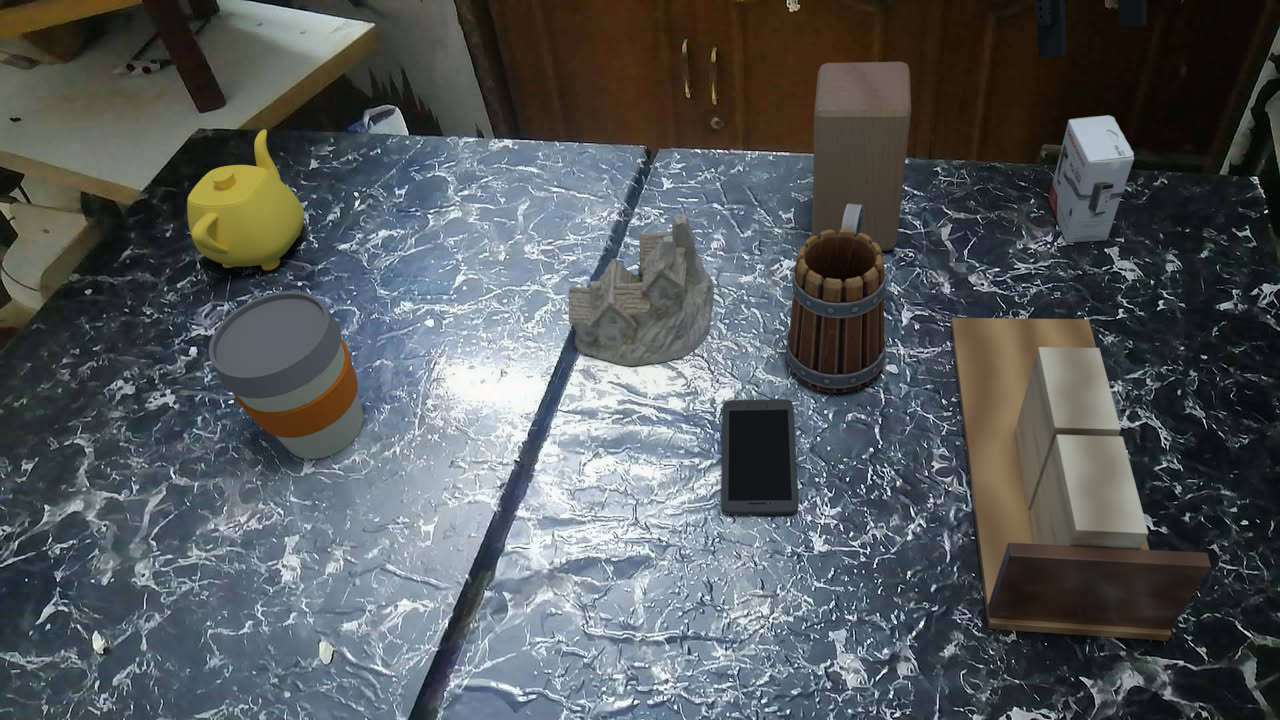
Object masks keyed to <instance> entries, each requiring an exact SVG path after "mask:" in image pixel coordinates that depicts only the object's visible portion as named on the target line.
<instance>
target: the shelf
mask: <svg viewBox="0 0 1280 720" xmlns="http://www.w3.org/2000/svg"><path fill="white" fill-rule="evenodd" d="M950 333H951V339H952V349H953V357H954V364H955V373H956V380H957V381H956V382H957V388H958V399H959V405H960V413H961V414H960V415H961V422H962V430H963V438H964V445H965V454H966V462H967V469H968V478H969V479H968V480H969V486H970V493H971V504H972V511H973V520H974V527H975V534H976V543H977V552H978V559H979V568H980V576H981V583H982V585H981V586H982V592H983V601H984V608H985V609H984V610H985V616H986V624H987V626H986V627H987V629H988V630H1000V631H1013V632H1014V631H1015V632H1027V633H1028V632H1029V633H1045V634H1058V635H1059V634H1060V635H1073V636H1074V635H1075V636H1086V637H1087V636H1089V637H1103V638H1116V639H1117V638H1118V639H1131V640H1134V639H1135V640H1148V641H1163V642H1168V641H1169V640H1170V638H1171V636H1172V633H1173V632H1172V628H1173V627H1174V626H1175V624H1176V622H1177V621H1178V619H1179V618H1180V616H1181V615H1182V613H1183V612H1184V610H1185V608H1186V607H1187V605H1188V604H1189V602H1190V600H1191V599H1192V597H1193V596H1194V594H1195V593H1196V592H1197V590H1198V588H1199V587H1200V585H1201V584H1202V583H1203V580H1204V579H1205V577H1206V576H1207V575H1208V573H1209V571H1210V569H1211V568H1212V564H1211V561H1210V557H1209V554H1208V553H1207V552H1200V551H1181V550H1180V551H1179V550H1178V551H1177V550H1160V549H1159V550H1158V549H1150V547H1149V543H1148V539H1147V537H1148V536H1149V530H1148V527H1147V522H1146V519H1145V515H1144V511H1143V507H1142V504H1141V500H1140V496H1139V492H1138V489H1137V485H1136V482H1135V481H1136V480H1135V477H1134V473H1133V470H1132V466H1131V461H1130V459H1129V455H1128V451H1127V448H1126V443H1125V440H1124V436H1120V433H1121V430H1122V428H1121V424H1120V420H1119V417H1118V413H1117V410H1116V405H1115V402H1114V398H1113V394H1112V390H1111V388H1110V387H1111V386H1110V383H1109V378H1108V376H1107V375H1108V374H1107V372H1106V368H1105V365H1104V361H1103V357H1102V353H1101V349H1100V347H1097V345H1096V343H1095V342H1096V341H1095V337H1094V333H1093V329H1092V326H1091V322H1090V319H1089V318H1016V317H1015V318H1006V317H1005V318H1004V317H1001V318H999V317H997V318H996V317H952V318H951V321H950Z"/></svg>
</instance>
